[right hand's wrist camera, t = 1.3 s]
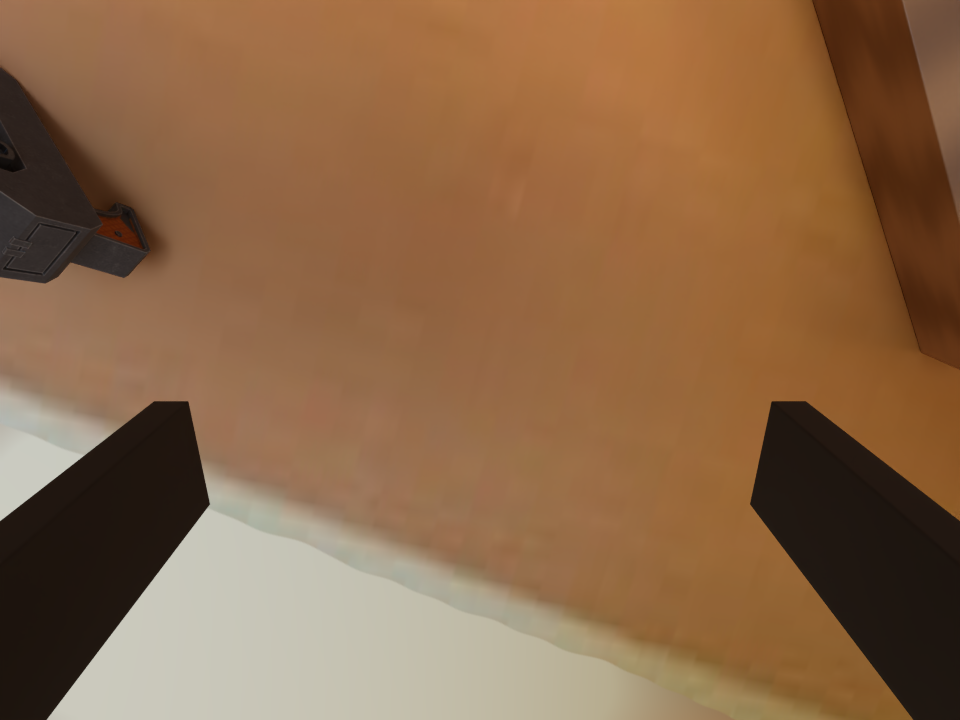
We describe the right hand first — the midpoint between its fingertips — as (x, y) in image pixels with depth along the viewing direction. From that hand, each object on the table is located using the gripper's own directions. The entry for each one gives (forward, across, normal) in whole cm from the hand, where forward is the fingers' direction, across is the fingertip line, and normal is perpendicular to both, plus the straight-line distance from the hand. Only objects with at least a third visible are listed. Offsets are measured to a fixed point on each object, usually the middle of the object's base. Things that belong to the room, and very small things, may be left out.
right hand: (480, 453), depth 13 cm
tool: (+34, -33, +6) cm, 48 cm away
